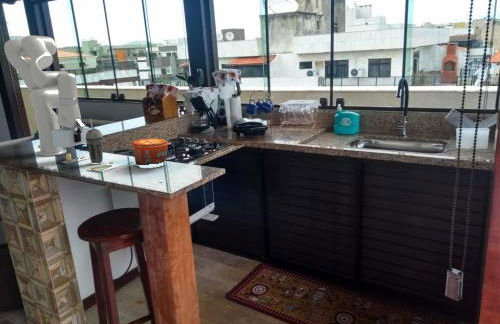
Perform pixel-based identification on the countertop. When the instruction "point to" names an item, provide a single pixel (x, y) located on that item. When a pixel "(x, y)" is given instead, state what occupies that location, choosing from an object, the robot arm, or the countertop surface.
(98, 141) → the beverage cup
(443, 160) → the countertop surface
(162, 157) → the food container
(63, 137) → the cover
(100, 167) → the board
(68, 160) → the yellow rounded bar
